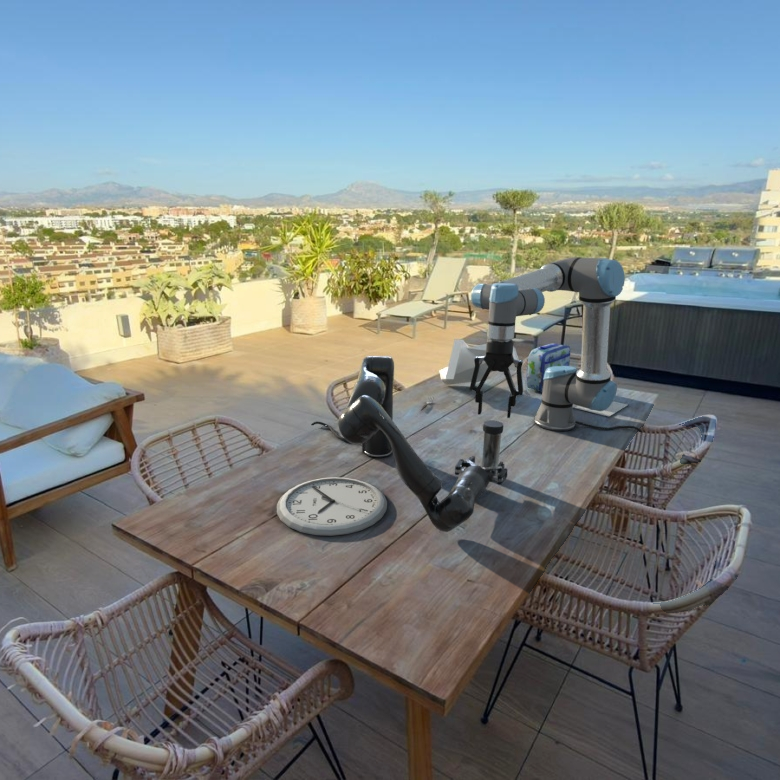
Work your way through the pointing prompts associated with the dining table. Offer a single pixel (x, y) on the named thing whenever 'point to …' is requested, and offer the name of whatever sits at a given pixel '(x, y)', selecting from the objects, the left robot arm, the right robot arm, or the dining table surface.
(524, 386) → the white plastic object
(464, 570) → the dining table surface
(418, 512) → the dining table surface
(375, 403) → the left robot arm
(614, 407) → the invitation card
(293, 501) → the wall clock
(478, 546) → the dining table surface
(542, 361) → the lunch box
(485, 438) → the thermos
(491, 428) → the lid
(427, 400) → the fork
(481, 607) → the dining table surface
